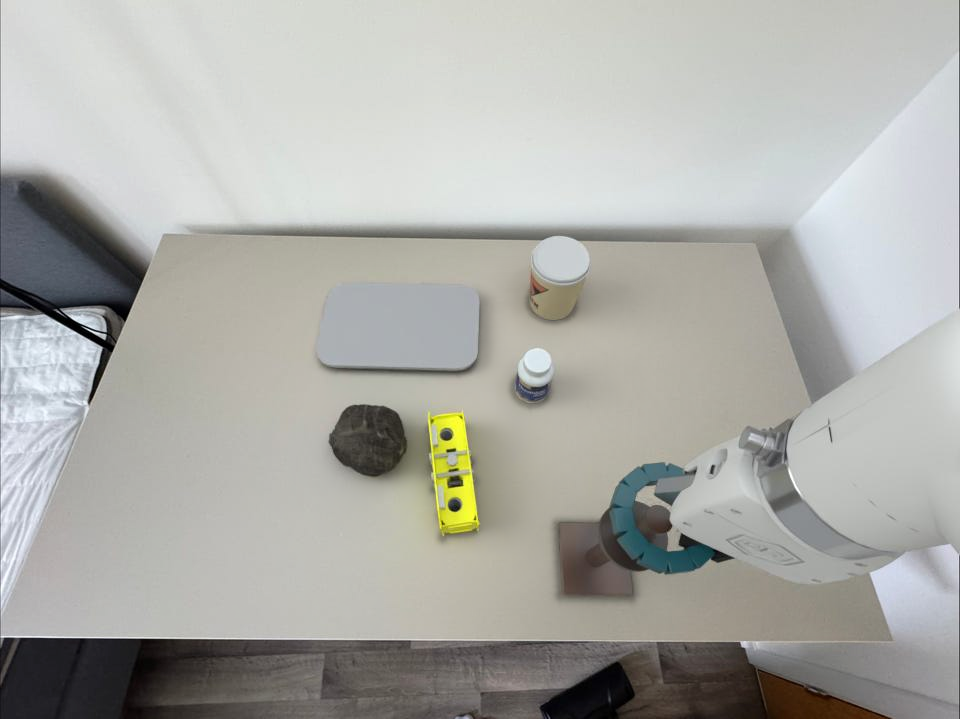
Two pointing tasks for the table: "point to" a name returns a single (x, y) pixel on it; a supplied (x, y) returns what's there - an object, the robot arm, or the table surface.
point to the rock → (369, 439)
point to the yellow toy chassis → (452, 473)
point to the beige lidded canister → (557, 276)
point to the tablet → (400, 326)
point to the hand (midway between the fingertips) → (701, 536)
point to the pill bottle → (534, 376)
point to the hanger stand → (606, 552)
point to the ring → (633, 537)
